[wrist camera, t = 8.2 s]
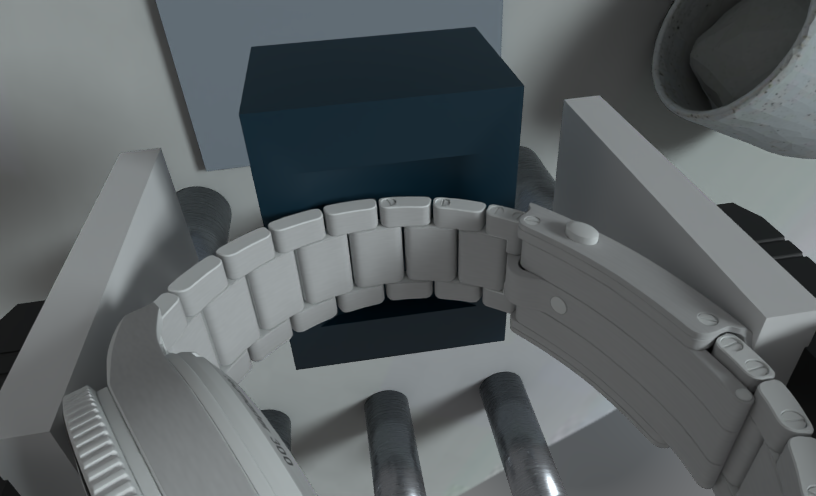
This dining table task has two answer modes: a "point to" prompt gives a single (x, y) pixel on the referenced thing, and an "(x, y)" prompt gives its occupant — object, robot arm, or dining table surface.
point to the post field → (389, 410)
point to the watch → (413, 285)
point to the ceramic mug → (742, 70)
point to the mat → (280, 24)
